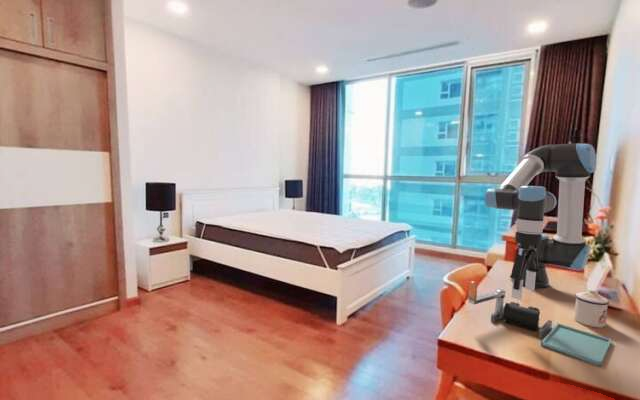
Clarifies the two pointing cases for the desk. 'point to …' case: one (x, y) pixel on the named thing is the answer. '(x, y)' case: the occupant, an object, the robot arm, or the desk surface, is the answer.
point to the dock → (499, 313)
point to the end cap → (521, 315)
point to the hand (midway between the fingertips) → (523, 293)
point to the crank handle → (482, 298)
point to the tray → (577, 344)
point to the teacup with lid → (591, 309)
